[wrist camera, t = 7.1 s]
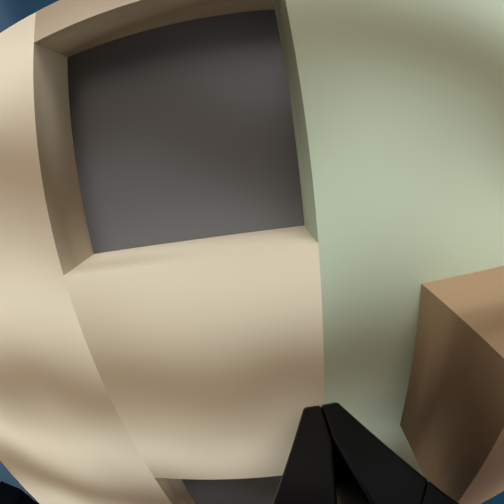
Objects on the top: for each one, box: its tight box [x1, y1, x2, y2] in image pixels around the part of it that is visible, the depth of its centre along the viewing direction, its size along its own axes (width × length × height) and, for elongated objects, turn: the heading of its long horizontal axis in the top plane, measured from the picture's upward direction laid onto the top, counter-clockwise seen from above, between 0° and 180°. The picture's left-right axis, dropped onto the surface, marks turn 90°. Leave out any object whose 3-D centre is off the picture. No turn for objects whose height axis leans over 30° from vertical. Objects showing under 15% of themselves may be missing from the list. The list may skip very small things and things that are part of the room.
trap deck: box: [0, 0, 504, 504], centre depth 9 cm, size 22×26×2 cm
